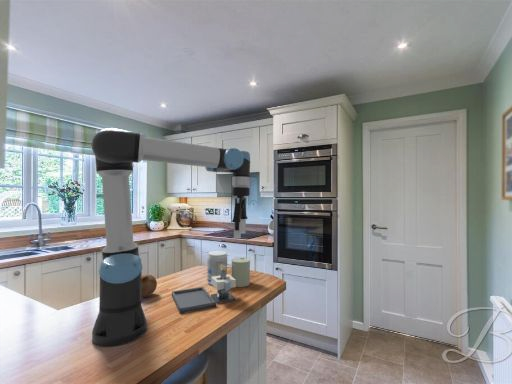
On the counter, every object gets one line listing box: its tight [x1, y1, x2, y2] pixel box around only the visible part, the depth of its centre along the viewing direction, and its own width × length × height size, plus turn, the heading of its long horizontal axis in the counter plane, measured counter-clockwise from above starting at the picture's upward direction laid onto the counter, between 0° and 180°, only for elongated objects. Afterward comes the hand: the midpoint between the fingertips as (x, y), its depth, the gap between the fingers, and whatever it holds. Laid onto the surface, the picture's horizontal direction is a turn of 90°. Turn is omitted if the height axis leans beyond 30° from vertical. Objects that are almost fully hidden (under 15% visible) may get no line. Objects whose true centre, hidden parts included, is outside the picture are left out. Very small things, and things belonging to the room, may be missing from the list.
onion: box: [141, 274, 158, 298], centre depth 112 cm, size 10×9×10 cm
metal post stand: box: [210, 264, 236, 305], centre depth 110 cm, size 8×8×14 cm
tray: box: [171, 286, 217, 314], centre depth 108 cm, size 14×19×2 cm
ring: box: [210, 273, 237, 291], centre depth 109 cm, size 8×10×3 cm
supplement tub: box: [206, 250, 228, 286], centre depth 130 cm, size 10×10×15 cm
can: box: [231, 257, 251, 288], centre depth 129 cm, size 9×9×12 cm
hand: (240, 235), depth 115 cm, fingers open, 13 cm apart
